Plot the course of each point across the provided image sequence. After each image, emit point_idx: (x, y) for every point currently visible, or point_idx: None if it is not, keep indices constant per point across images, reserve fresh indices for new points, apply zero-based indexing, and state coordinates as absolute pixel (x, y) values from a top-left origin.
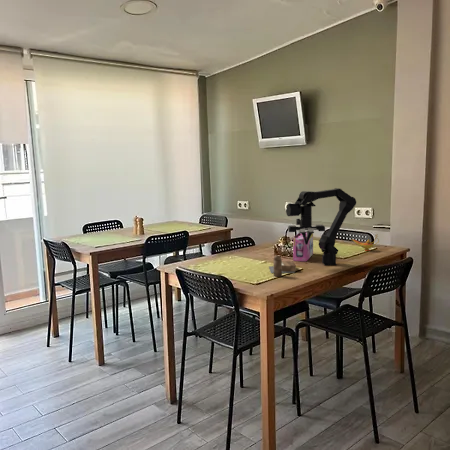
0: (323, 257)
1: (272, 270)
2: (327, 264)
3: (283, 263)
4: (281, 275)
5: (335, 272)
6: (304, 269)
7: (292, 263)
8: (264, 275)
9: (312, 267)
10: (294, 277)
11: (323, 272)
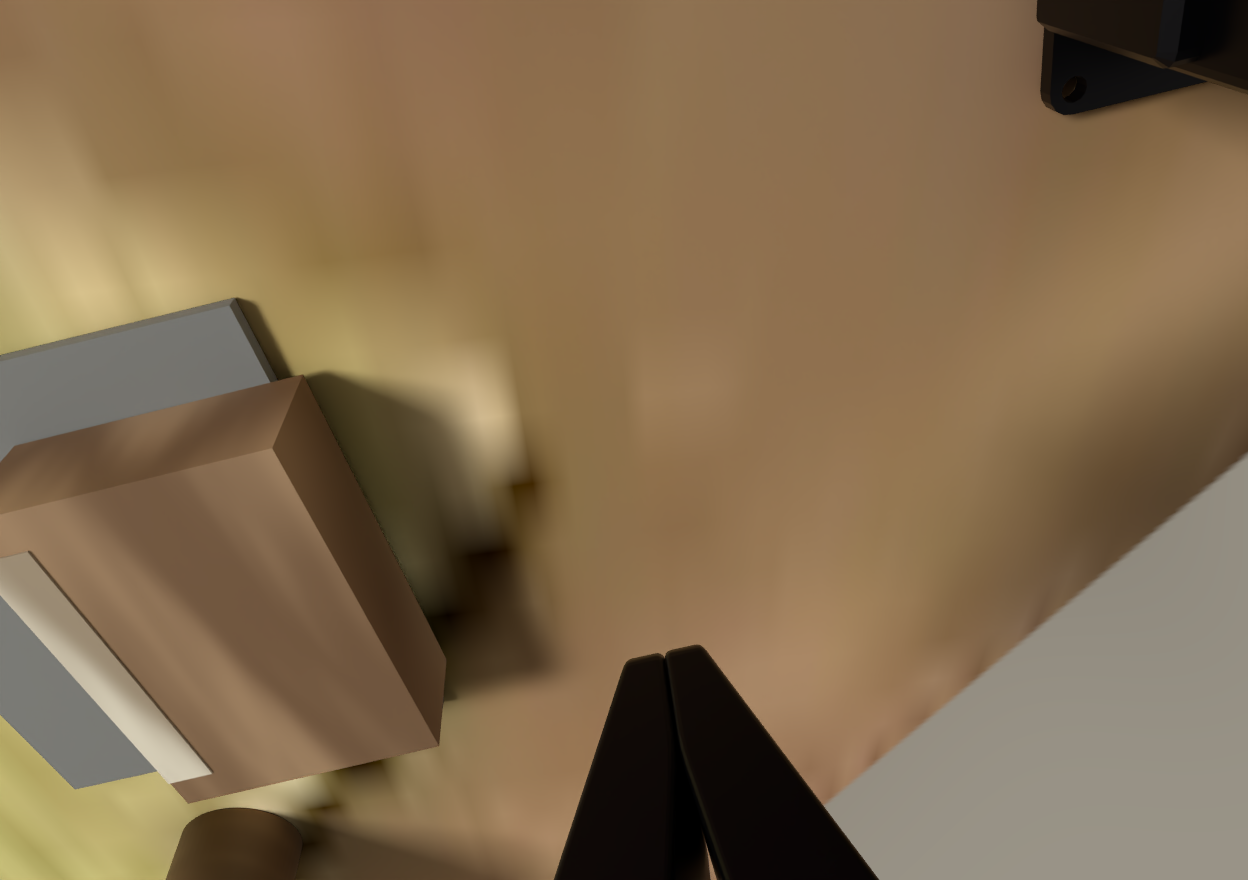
0: (1149, 63)
1: (18, 685)
2: (1124, 92)
3: (138, 677)
4: (299, 858)
5: (1086, 578)
6: (575, 484)
7: (331, 644)
8: (40, 854)
9: (732, 311)
10: (488, 851)
11: (898, 605)
